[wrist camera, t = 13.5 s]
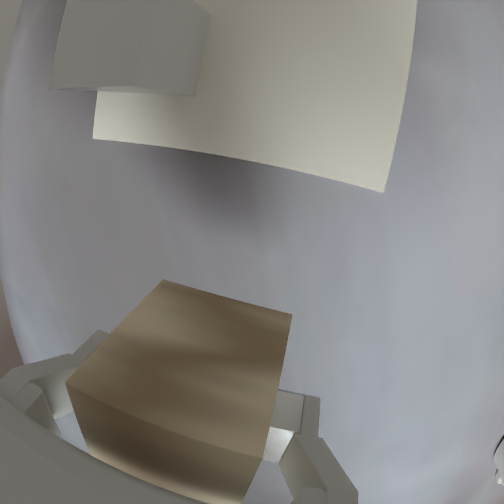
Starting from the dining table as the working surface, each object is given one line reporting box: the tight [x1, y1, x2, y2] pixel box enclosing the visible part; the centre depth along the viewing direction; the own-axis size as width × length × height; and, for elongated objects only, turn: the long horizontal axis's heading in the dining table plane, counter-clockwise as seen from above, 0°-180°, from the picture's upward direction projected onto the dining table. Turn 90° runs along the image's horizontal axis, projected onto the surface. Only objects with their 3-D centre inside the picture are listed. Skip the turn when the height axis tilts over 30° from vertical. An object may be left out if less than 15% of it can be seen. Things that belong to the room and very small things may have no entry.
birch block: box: [65, 280, 292, 504], centre depth 9 cm, size 4×4×6 cm
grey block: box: [49, 0, 211, 97], centre depth 11 cm, size 4×4×6 cm
